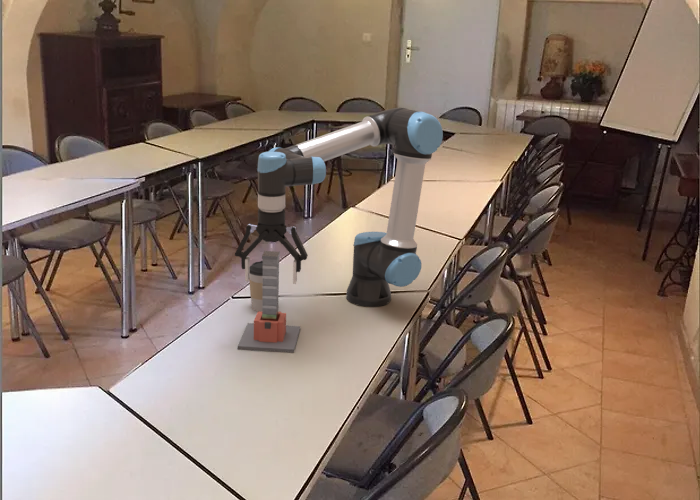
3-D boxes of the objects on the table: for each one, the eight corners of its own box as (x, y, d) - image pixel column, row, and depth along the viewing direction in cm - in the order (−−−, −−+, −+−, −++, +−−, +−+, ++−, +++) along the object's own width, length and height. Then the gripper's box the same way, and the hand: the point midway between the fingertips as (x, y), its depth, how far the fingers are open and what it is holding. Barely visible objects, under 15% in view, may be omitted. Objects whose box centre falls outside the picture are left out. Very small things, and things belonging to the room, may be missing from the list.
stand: (300, 329, 216) (300, 307, 214) (293, 352, 201) (294, 329, 199) (247, 326, 217) (247, 304, 214) (237, 349, 201) (237, 325, 199)
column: (278, 313, 209) (279, 251, 203) (276, 319, 204) (277, 256, 198) (264, 312, 209) (264, 250, 203) (261, 318, 205) (261, 255, 199)
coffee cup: (271, 314, 226) (272, 269, 221) (244, 310, 227) (244, 266, 223) (280, 303, 234) (280, 260, 230) (253, 300, 236) (253, 257, 231)
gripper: (318, 207, 200) (316, 278, 206) (229, 203, 201) (230, 273, 207) (315, 214, 193) (313, 288, 199) (223, 209, 193) (224, 283, 200)
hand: (271, 281), depth 203 cm, fingers open, 13 cm apart
